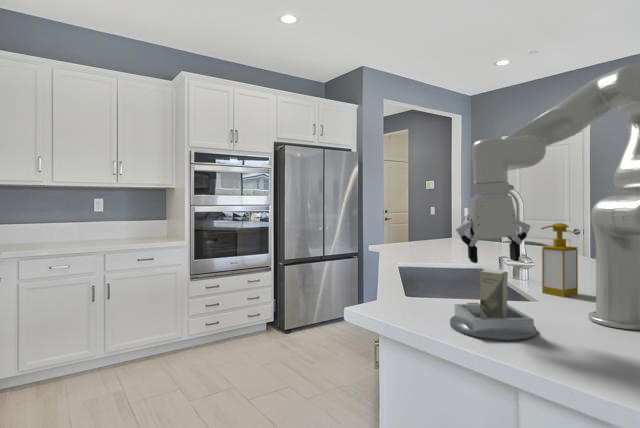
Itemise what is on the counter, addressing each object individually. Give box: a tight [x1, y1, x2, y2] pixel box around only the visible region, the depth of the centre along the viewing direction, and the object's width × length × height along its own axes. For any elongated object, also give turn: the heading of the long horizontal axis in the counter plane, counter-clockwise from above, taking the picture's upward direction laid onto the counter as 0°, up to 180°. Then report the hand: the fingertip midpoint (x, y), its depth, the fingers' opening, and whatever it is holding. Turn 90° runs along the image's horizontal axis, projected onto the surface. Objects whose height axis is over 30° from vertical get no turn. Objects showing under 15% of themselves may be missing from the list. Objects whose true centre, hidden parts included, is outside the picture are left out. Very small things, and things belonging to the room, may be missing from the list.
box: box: [479, 268, 509, 318], centre depth 92 cm, size 5×4×13 cm
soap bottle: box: [541, 222, 579, 298], centre depth 125 cm, size 7×13×24 cm, turn 115°
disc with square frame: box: [449, 302, 537, 342], centre depth 94 cm, size 19×22×4 cm
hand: (494, 261), depth 92 cm, fingers open, 9 cm apart
